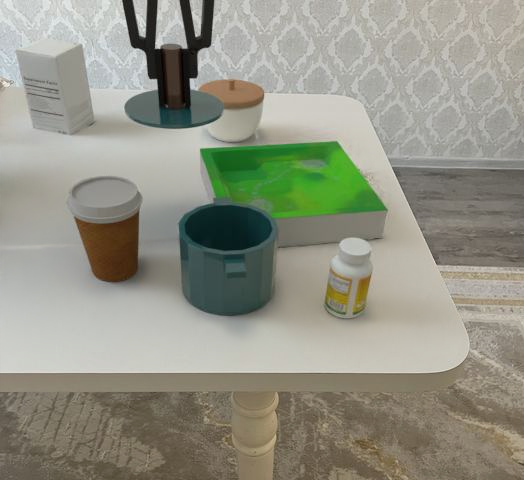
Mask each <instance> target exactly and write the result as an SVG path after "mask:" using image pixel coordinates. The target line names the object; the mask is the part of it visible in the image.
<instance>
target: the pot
mask: <svg viewBox="0 0 524 480" xmlns="http://www.w3.org/2000/svg"><path fill="white" fill-rule="evenodd" d="M177 227H178V242H179V243H178V245H179V246H178V247H179V259H180V260H179V261H180V276H181V278H180V279H181V289H182V294H183V296H184V298H185V299H186V301H187V302H188V303H189V304H190V305H192V306H193V307H194V308H196V309H198V310H200V311H202V312H205V313H208V314H212V315H217V316H227V317H229V316H240V315H241V316H242V315H245V314H250V313H253V312H255V311H257V310H259V309H261V308H262V307H264V306H265V305H266V304H268V303H269V302H270V300H271V299H272V297H273V295H274V292H275V288H276V278H277V277H276V274H277V262H278V261H277V259H278V248H279V247H278V233H279V229H278V226H277V223H276V220H275V219H274V218H273V217H272V216H271V215H269V214H268V213H267V212H266V211H265V210H262V209H260V208H257V207H255V206H252V205H248V204H242V203H235V202H231V199H230V197H217V198H213V203H211V204H210V203H207V204H203V205H199V206H197V207H195V208H193V209H191V210H189V211H188V212H186V213H184V214H183V215H182V217H181V219H180V220H179V222H178V223H177Z"/></svg>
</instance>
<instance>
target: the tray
mask: <svg viewBox="0 0 524 480" xmlns="http://www.w3.org/2000/svg"><path fill="white" fill-rule="evenodd" d="M199 165H200V166H199V167H200V175H201V178H202V181H203V185H204V188H205V192H206V194H207V198H208V201H209V204H211V203H213V198H217V197H230V199H231V202H235V203H242V204H248V205H252V206H255V207H257V208H260V209H262V210H265V211H266V212H267V213H268V214H269V215H271V216H272V217H273V218H274V219H275V220H276V223H277V226H278V229H279V233H278V248H285V247H297V246H309V245H320V244H332V243H333V244H334V243H340V242H341V241H342V240H344V239H346V238H360V239H363V240H364V239H368V240H375V239H374V238H380V239H383V235H384V231H385V226H386V220H387V215H388V211H389V210H388V209H389V208H387V206H386V205H385V204H384V202H383V201H382V200H381V198H380V197H379V195H378V194H377V193H376V192H375V190H374V189H373V187H372V186H371V185H370V183H369V182H368V181H367V179H366V178H365V177H364V175H363V174H362V173H361V172H360V170H359V169H358V167H357V166H356V165H355V163H354V161H353V160H352V159H351V158H350V156H349V155H348V153H347V152H346V151H345V149H344V148H343V147H342V146H341V144H340V143H339V141H338V140H334V141H315V142H313V141H312V142H296V143H295V142H294V143H278V144H260V145H241V146H240V145H239V146H221V147H220V146H219V147H201V148H199Z"/></svg>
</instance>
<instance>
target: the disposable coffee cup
mask: <svg viewBox="0 0 524 480" xmlns="http://www.w3.org/2000/svg"><path fill="white" fill-rule="evenodd" d="M142 203H143V195H142V194H141V192H140V191H139V188H138V187H137V185H136V183H135V182H133V181H132V180H130V179H128V178H126V177H121V176H116V175H97V176H92V177H87V178H84V179H82V180H79V181H78V182H76V183H75V184H74V185H72V186H71V188H70V189H69V191H68V197H67V199H66V206H67V209H68V211H70V213H71V215H72V216H73V219H74V222H75V225H76V227H77V230H78V233H79V236H80V240H81V242H82V245H83V248H84V251H85V254H86V256H87V260H88V262H89V266H90V268H91V272H92V274H93V276H94V277H95V278H97V279H98V280H99V281H100V280H101V281H103V282H110V283H111V282H112V283H113V282H114V283H115V282H122V281H125V280H127V279H131V277H133V276H134V275H135V274H137V272H138V270H139V245H140V244H139V241H140V240H139V239H140V238H139V237H140V236H139V235H140V209H141V207H142Z"/></svg>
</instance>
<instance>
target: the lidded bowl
mask: <svg viewBox="0 0 524 480" xmlns="http://www.w3.org/2000/svg"><path fill="white" fill-rule="evenodd" d="M197 91H201V92H205V93H208V94H211V95H213V96H215V97H217V98H218V99H220V100H221V101H222V102H223V104H224V113H223V115H222V116H221V117H220V118H219V119H218V120H216V121H214V122H212V123H210V124H207V125H203V126H204V128H205V129H206V131H207V132H208V133H209V135H210V136H212V137H213V138H214V139H216V140H217V141H220V142H226V143H239V142H244V141H246V140H248V139H250V137H252V135H254V133H256V131H257V129H258V128H259V126H260V123H261V120H262V116H263V112H264V111H263V109H264V100H265V90H264V88H262V87H261V86H260V85H259V84H256V83H253V82H251V81H247V80H243V79H241V80H240V79H234V78H227V79H225V78H224V79H217V80H216V79H215V80H210V81H207V82H205V83H203V84H201V85H200V86H199V88H198V90H197Z"/></svg>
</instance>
